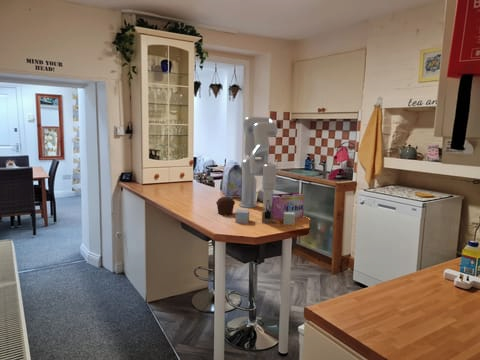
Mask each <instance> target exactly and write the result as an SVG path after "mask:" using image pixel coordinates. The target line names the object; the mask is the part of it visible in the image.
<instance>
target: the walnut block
mask: <svg viewBox="0 0 480 360" xmlns="http://www.w3.org/2000/svg"><path fill="white" fill-rule="evenodd" d="M270 212H271V218H270V219H265V209H263V210H262V212H261V224H270V225H272V224H273V222H274V220H273V211H270Z"/></svg>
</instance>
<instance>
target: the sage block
mask: <svg viewBox="0 0 480 360" xmlns="http://www.w3.org/2000/svg"><path fill="white" fill-rule="evenodd" d="M282 220H283V221H282V223H283V225H285V226H286V225H287V226H295V222H296V221H295V220H296V217H295V212H286V211H284V219H282Z"/></svg>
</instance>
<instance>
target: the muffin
mask: <svg viewBox="0 0 480 360" xmlns="http://www.w3.org/2000/svg"><path fill="white" fill-rule="evenodd" d="M215 203H216V207H217V214H218V215H220V216H231V215H233V213H234V207H235V204H236V202H235V200H234V199H233V198H230V197H227V196H222V197H219V198H218V199H217V201H216V202H215Z"/></svg>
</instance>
